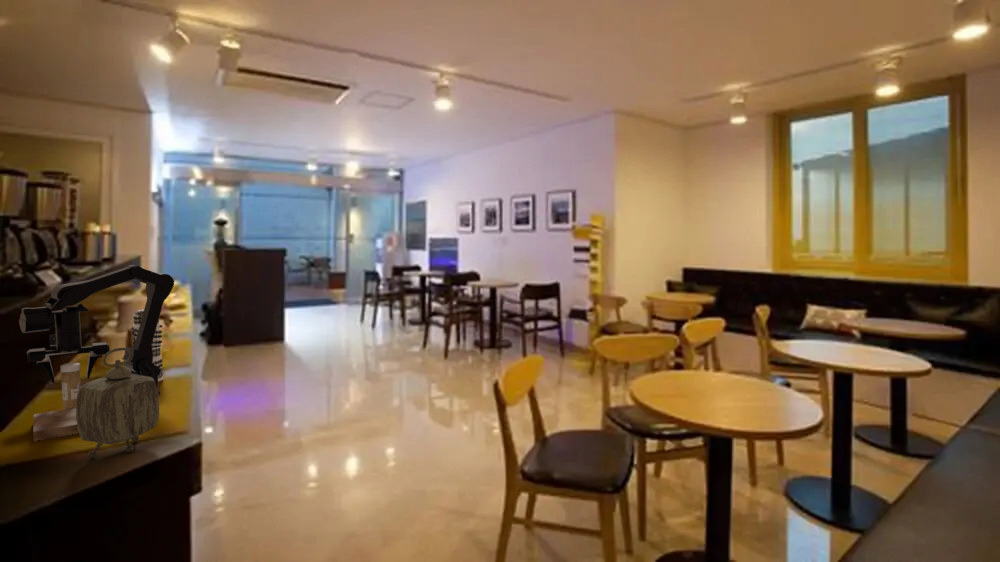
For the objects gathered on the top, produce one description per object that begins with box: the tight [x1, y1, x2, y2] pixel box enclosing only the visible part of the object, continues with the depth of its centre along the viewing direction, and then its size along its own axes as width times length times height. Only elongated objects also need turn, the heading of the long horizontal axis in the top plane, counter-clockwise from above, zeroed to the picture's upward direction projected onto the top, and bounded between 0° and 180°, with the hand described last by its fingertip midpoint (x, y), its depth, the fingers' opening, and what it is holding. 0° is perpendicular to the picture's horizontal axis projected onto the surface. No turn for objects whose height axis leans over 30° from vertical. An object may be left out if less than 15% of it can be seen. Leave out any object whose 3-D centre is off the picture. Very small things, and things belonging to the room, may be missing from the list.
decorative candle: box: [130, 308, 164, 382], centre depth 191 cm, size 9×9×25 cm
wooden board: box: [32, 408, 79, 442], centre depth 148 cm, size 20×17×2 cm
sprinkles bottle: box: [59, 362, 82, 410], centre depth 160 cm, size 5×5×14 cm
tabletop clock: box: [76, 347, 160, 459], centre depth 130 cm, size 14×9×25 cm, turn 163°
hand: (71, 380), depth 160 cm, fingers open, 8 cm apart
